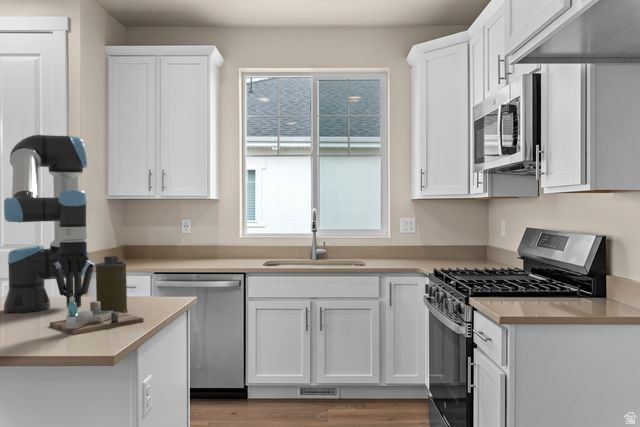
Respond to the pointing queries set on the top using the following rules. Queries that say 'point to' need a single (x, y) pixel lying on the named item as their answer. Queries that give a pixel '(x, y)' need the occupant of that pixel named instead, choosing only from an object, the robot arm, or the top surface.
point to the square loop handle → (83, 317)
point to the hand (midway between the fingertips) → (74, 318)
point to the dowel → (114, 317)
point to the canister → (111, 285)
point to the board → (96, 308)
